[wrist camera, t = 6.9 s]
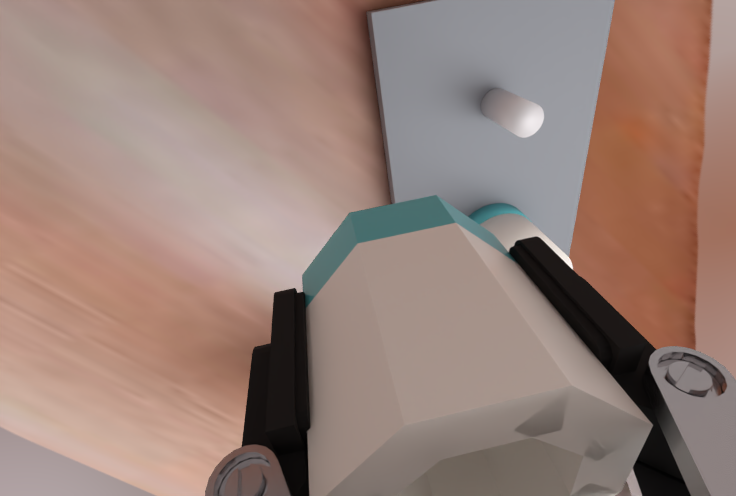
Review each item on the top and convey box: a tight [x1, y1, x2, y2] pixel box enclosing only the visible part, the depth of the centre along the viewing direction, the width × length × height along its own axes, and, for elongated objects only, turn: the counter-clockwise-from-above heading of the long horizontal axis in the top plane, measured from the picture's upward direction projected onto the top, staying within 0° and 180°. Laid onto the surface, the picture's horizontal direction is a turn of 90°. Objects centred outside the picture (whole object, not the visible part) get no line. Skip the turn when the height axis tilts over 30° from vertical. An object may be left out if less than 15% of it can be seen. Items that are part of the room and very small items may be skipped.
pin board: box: [366, 0, 615, 270], centre depth 25 cm, size 22×14×8 cm, turn 8°
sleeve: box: [302, 195, 653, 496], centre depth 9 cm, size 6×6×6 cm
